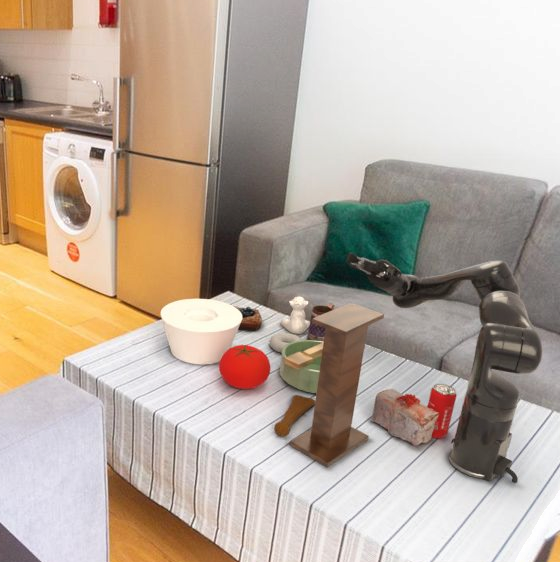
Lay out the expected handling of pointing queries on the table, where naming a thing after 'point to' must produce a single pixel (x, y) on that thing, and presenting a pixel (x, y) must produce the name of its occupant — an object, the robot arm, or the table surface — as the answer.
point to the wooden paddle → (304, 357)
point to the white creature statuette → (297, 317)
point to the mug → (315, 330)
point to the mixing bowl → (304, 376)
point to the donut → (282, 340)
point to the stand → (337, 385)
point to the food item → (404, 416)
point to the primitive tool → (293, 414)
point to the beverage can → (442, 407)
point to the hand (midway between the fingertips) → (362, 260)
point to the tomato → (244, 367)
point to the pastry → (250, 319)
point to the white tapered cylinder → (200, 329)
